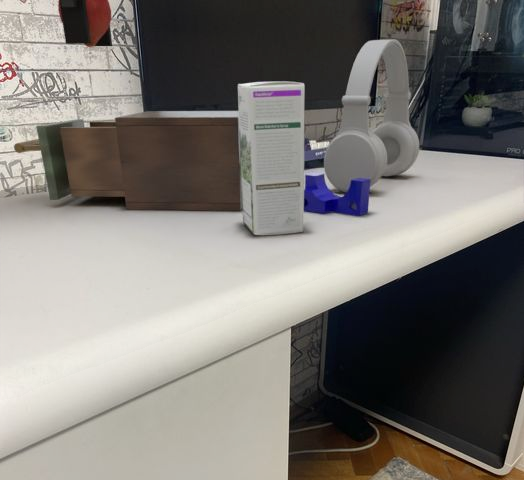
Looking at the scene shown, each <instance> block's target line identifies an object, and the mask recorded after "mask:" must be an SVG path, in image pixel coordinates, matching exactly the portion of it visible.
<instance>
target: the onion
mask: <svg viewBox="0 0 524 480" xmlns="http://www.w3.org/2000/svg"><path fill="white" fill-rule="evenodd" d="M57 7H58V10H57V11H58V14H59V18H60V21H61V23H62V24H63V21H62V15H61V8H60V1H59V0H58V2H57ZM86 8H87V15H88V23H89V30H90V38H91V44H83V45H84V46H86V47H88V48H94V47H96V46H95V45H96V44H97V42H98V41H99V39H100V38H101V37H102V36H103V35H104V34H105V32H106V31H107V29H108V28H109V26H110V27H111V21H112V8H111V4H110V2H109V0H86Z"/></svg>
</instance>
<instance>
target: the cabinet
mask: <svg viewBox="0 0 524 480" xmlns="http://www.w3.org/2000/svg"><path fill="white" fill-rule="evenodd" d="M114 120H115V121H114V122H116V130H117V138H118V146H119V154H120V162H121V170H122V177H123V185H124V193H125V197H124V199H125V209H126V210H141V211H142V210H144V211H145V210H146V211H151V210H152V211H216V212H217V211H218V212H219V211H220V212H222V211H224V212H241V211H242V210H243V207H242V184H241V156H240V135H239V110H170V111H169V110H159V111H158V110H155V111H154V110H151V111H149V110H146V111H142V112H137V113H131V114H127V115H126V114H125V115H121V116H116V117H114Z"/></svg>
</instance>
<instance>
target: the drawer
mask: <svg viewBox="0 0 524 480" xmlns="http://www.w3.org/2000/svg"><path fill="white" fill-rule="evenodd" d="M35 127H36V133H37V137H38V138H35V139H30V140H26V141H20V142H16V143H14V145H13V149H14V151H15V152H16V153H18V154H23V153H26V152H30V151H40V155H41V159H42V164H43V170H44V174H45V180H46V186H47V190H48V196H49V200H50V201H59V200H61V199H64V198H65V197H68V196H71V197H106V198H107V197H118V198H120V197H121V198H123V197H124V198H125V193H124V185H123V177H122V170H121V162H120V154H119V146H118V138H117V130H116V122H115V121H89V126H85V121H84V118H80V119H79V118H77V119H76V118H75V119H70V120H64V121H58V122H57V121H56V122H52V123H47V124H40V125H36V126H35Z"/></svg>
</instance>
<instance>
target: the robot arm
mask: <svg viewBox="0 0 524 480" xmlns="http://www.w3.org/2000/svg"><path fill="white" fill-rule="evenodd" d="M58 1H60V8H61V15H62V21H63V23H62V27H63V35H64V41H65V44H67V45H84V44H91V38H90V30H89V23H88V15H87V8H86V0H58ZM62 21H61V22H62ZM111 30H112V29H111V25H110V26H109V28H108V29H107V31H106V32H105V34H104V35H103V36H102V37H101V38H100V39H99V41H98V42H97V44H96V45H95V46H94V47H113V39H112V31H111Z"/></svg>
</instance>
